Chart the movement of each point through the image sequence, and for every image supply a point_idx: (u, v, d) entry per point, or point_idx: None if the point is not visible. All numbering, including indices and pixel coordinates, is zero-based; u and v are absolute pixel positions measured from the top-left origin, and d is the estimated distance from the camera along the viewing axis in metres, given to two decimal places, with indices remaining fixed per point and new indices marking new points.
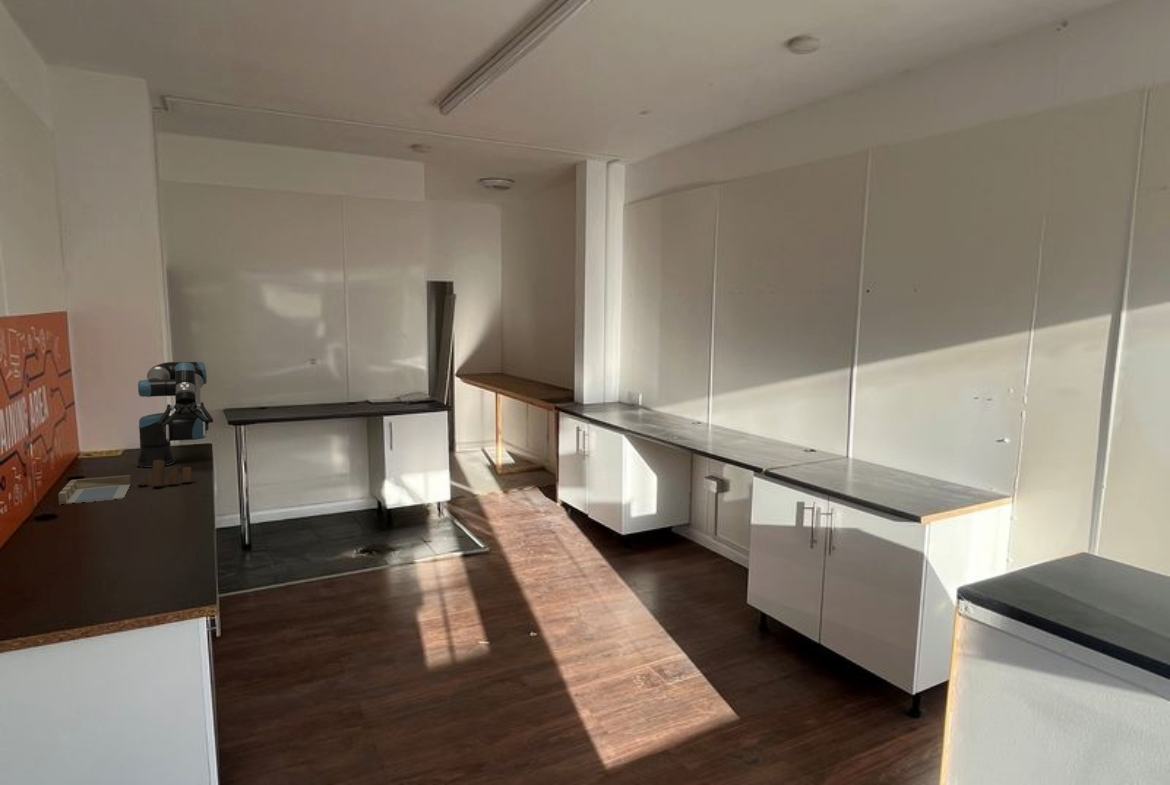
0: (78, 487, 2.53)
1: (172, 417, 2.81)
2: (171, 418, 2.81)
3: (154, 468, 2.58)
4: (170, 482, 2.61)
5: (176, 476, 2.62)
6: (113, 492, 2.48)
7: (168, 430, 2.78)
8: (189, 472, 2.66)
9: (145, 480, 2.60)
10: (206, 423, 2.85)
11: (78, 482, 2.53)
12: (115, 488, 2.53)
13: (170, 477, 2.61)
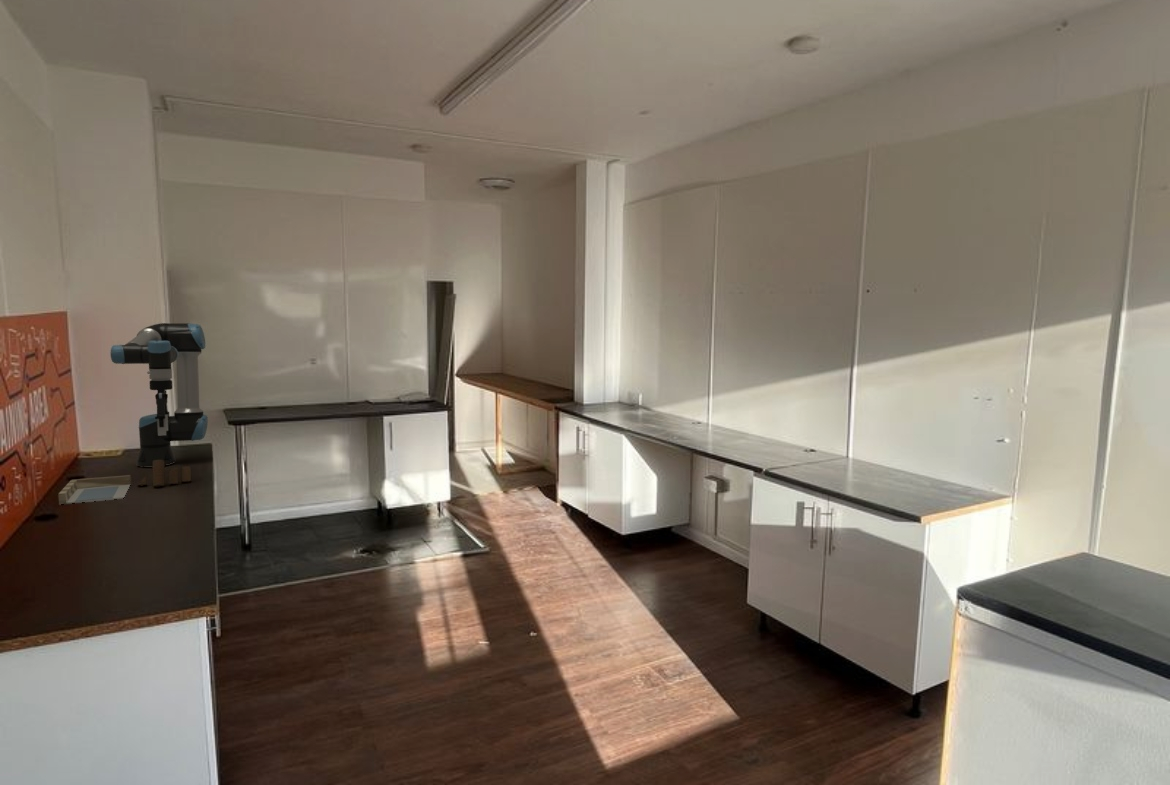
0: (78, 487, 2.53)
1: None
2: None
3: (154, 468, 2.59)
4: (171, 481, 2.62)
5: (176, 475, 2.63)
6: (113, 492, 2.48)
7: None
8: (188, 471, 2.67)
9: (144, 480, 2.60)
10: (159, 420, 2.52)
11: (78, 482, 2.53)
12: (115, 488, 2.53)
13: (170, 476, 2.62)
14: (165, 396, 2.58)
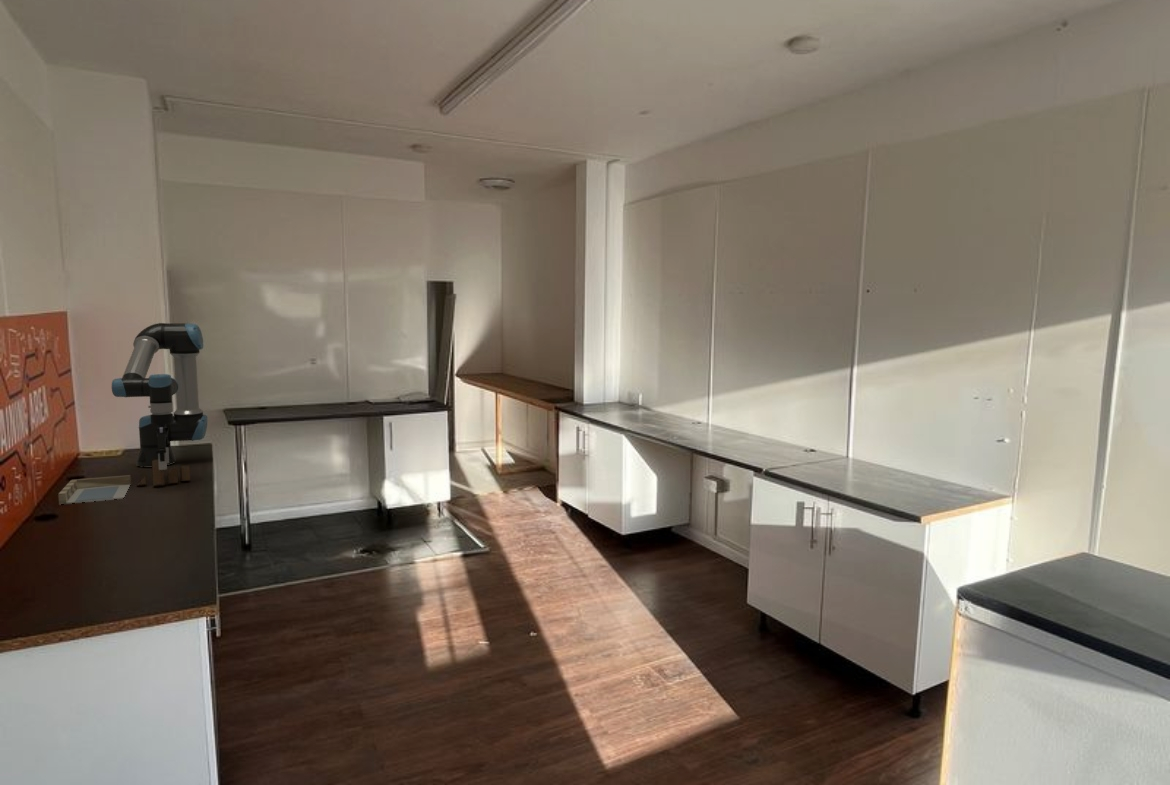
0: (78, 487, 2.53)
1: None
2: None
3: (154, 467, 2.59)
4: (171, 481, 2.63)
5: (176, 475, 2.64)
6: (113, 492, 2.48)
7: None
8: (188, 470, 2.69)
9: (144, 480, 2.60)
10: (160, 454, 2.53)
11: (78, 482, 2.53)
12: (115, 488, 2.53)
13: (170, 476, 2.63)
14: (166, 429, 2.58)
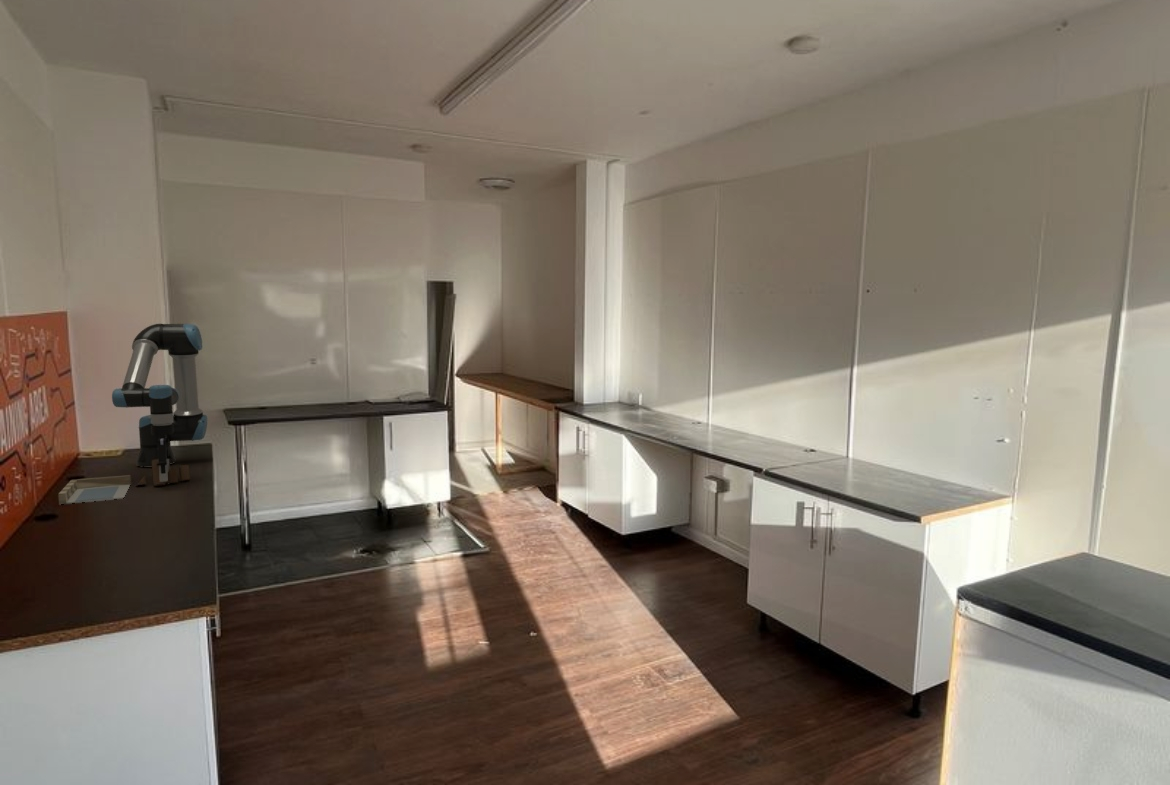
0: (78, 487, 2.53)
1: None
2: None
3: (155, 467, 2.60)
4: (171, 480, 2.63)
5: (176, 474, 2.65)
6: (113, 492, 2.48)
7: None
8: (187, 470, 2.70)
9: (143, 480, 2.60)
10: (160, 466, 2.54)
11: (78, 482, 2.53)
12: (115, 488, 2.53)
13: (170, 475, 2.64)
14: (166, 440, 2.59)
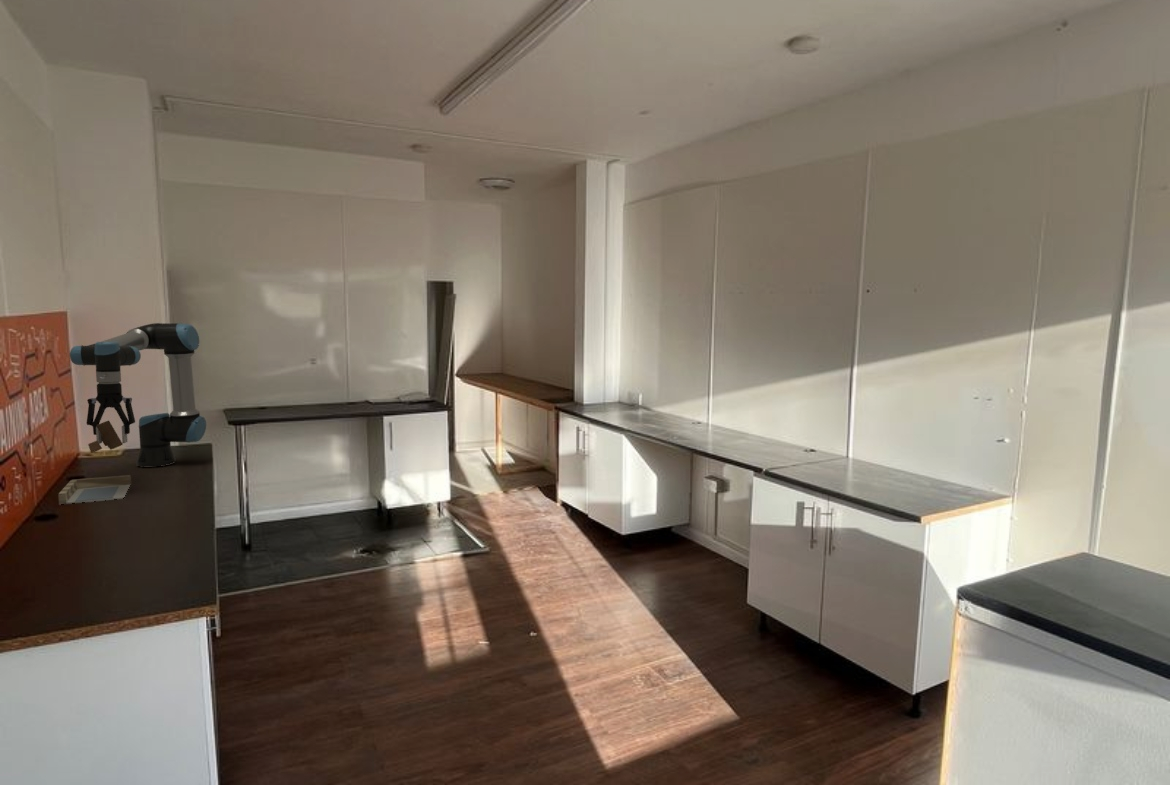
0: (78, 487, 2.53)
1: (99, 415, 2.45)
2: (99, 417, 2.45)
3: (111, 429, 2.45)
4: None
5: None
6: (113, 492, 2.48)
7: (99, 432, 2.46)
8: None
9: (99, 444, 2.41)
10: (126, 427, 2.48)
11: (78, 482, 2.53)
12: (115, 488, 2.53)
13: None
14: None
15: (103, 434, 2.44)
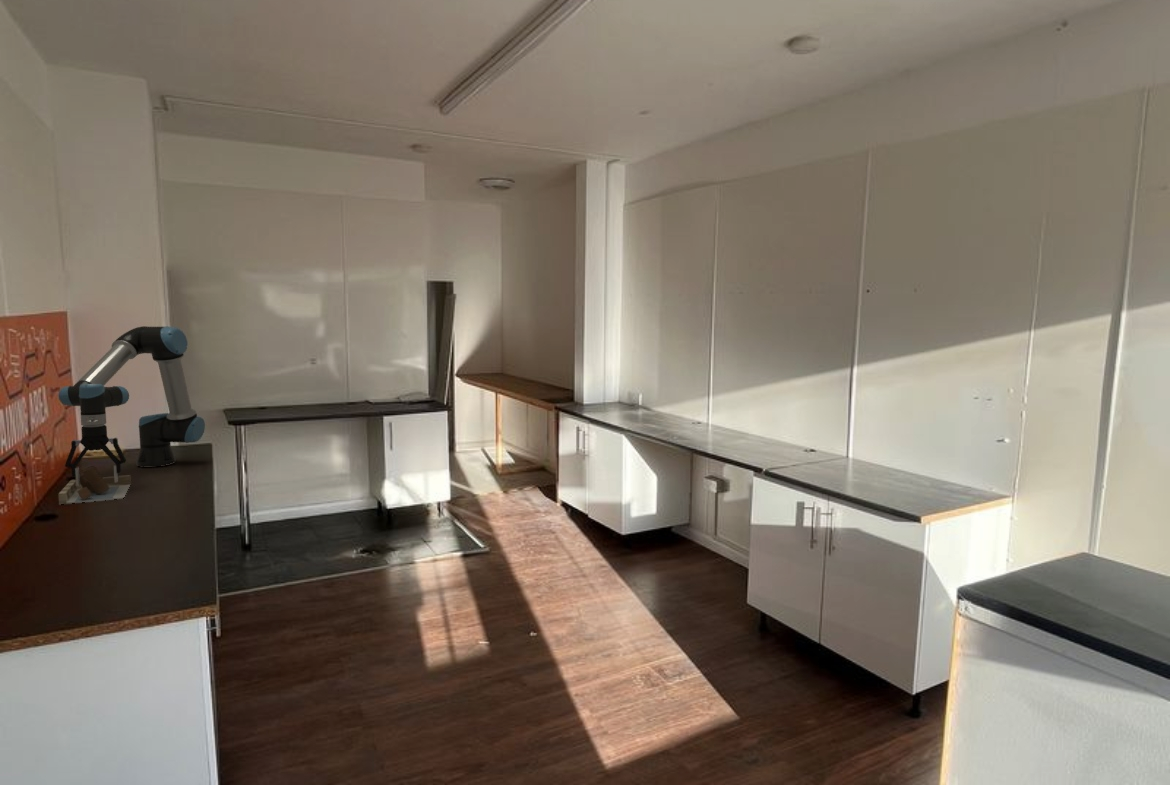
0: (78, 487, 2.53)
1: (81, 458, 2.42)
2: (80, 459, 2.41)
3: (98, 474, 2.43)
4: None
5: None
6: (113, 492, 2.48)
7: (78, 474, 2.42)
8: None
9: None
10: (118, 466, 2.48)
11: None
12: (115, 488, 2.53)
13: None
14: None
15: (90, 480, 2.41)
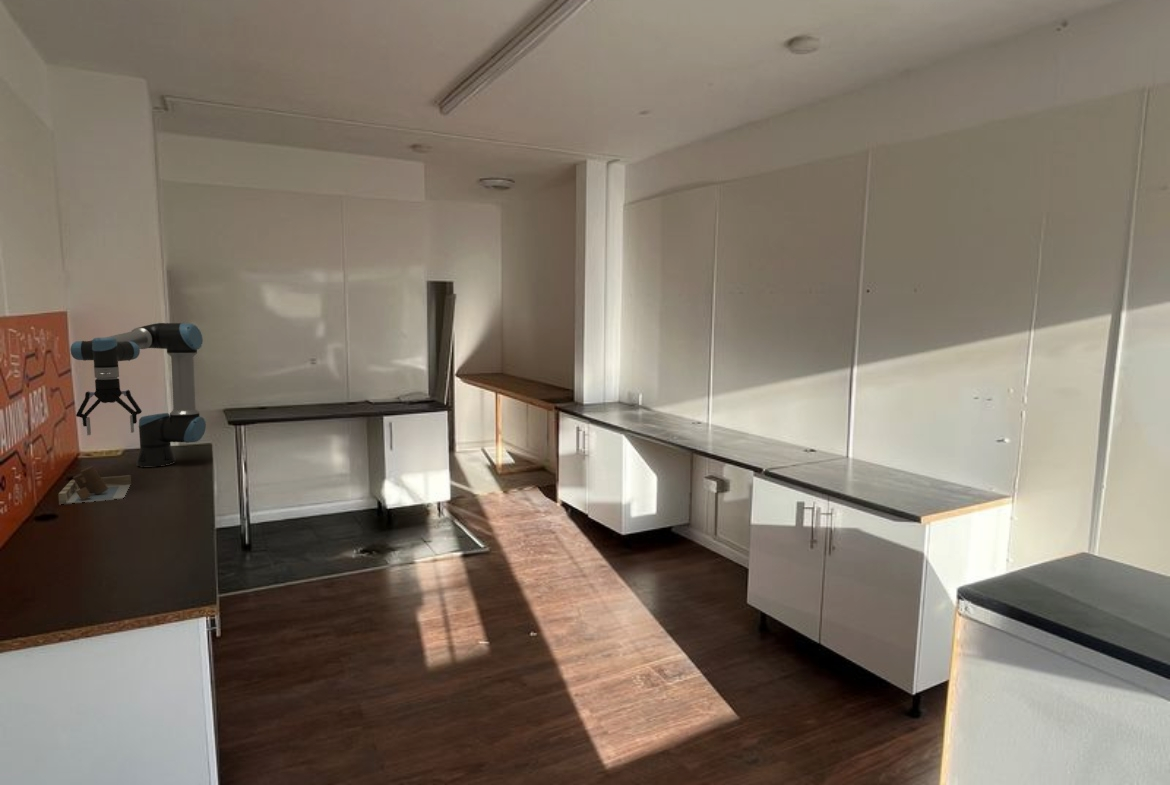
0: (78, 487, 2.53)
1: (93, 409, 2.46)
2: (91, 410, 2.46)
3: (96, 474, 2.43)
4: None
5: None
6: (113, 492, 2.48)
7: (89, 424, 2.47)
8: None
9: (88, 490, 2.39)
10: (134, 417, 2.53)
11: None
12: (115, 488, 2.53)
13: None
14: None
15: (89, 480, 2.41)
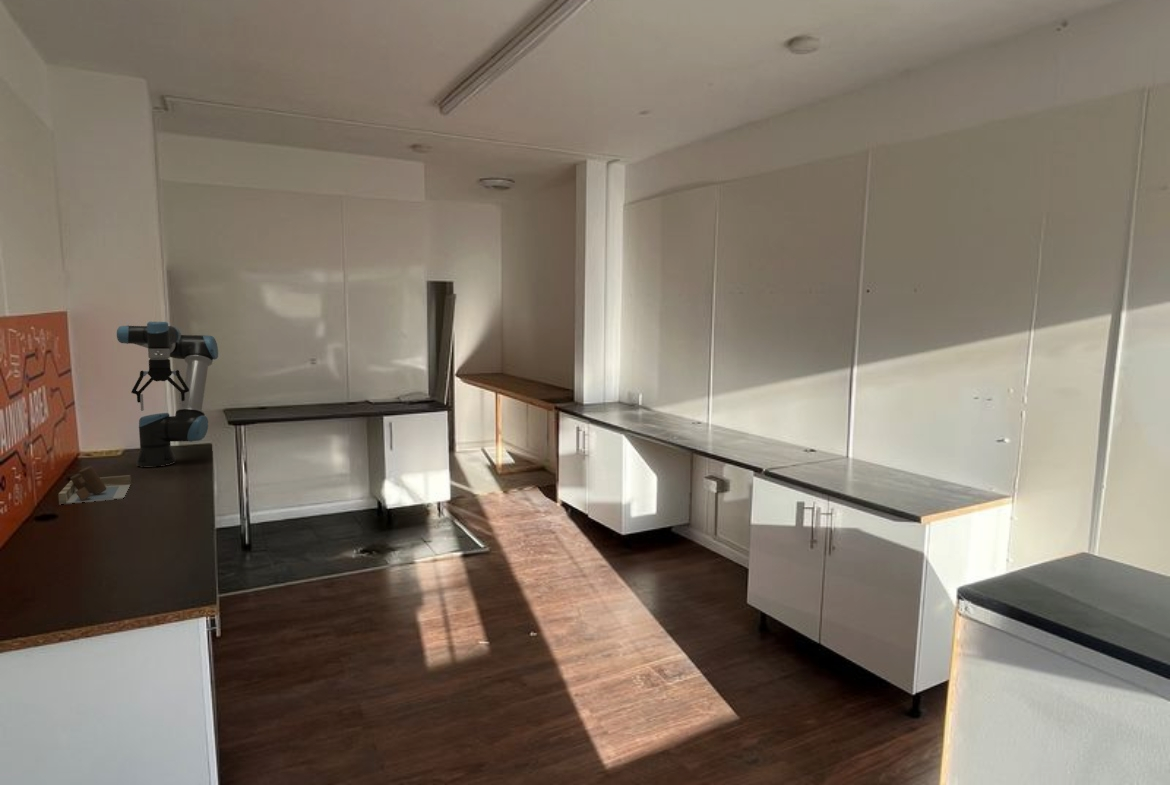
0: None
1: (146, 386, 2.69)
2: (145, 387, 2.69)
3: (95, 474, 2.43)
4: None
5: None
6: (113, 492, 2.48)
7: (142, 400, 2.70)
8: None
9: (87, 491, 2.38)
10: (182, 394, 2.76)
11: None
12: (115, 488, 2.53)
13: None
14: None
15: (88, 480, 2.41)
